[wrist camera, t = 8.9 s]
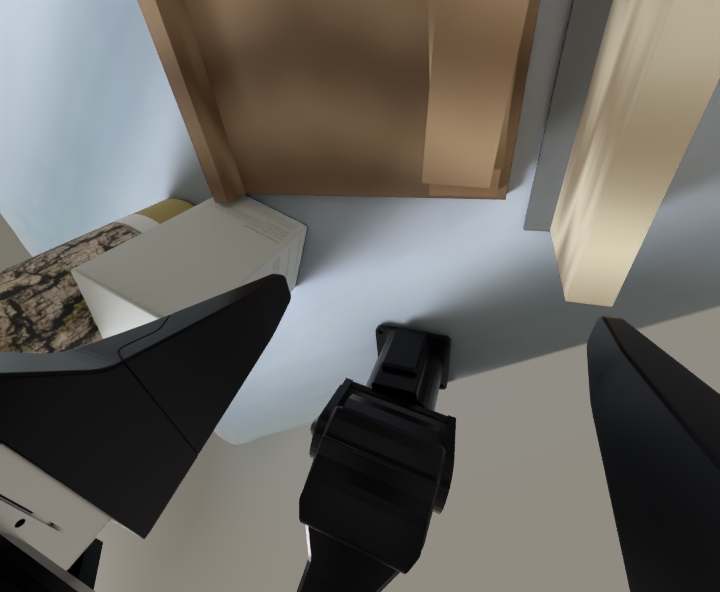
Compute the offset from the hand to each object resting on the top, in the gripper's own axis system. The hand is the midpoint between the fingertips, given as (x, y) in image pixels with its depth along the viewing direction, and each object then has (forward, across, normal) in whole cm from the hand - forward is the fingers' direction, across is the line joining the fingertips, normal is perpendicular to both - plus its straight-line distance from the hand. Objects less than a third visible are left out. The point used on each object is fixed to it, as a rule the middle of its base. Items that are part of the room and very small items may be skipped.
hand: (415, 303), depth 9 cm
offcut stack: (+12, 0, -6) cm, 13 cm away
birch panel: (+12, -6, -3) cm, 14 cm away
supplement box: (+13, +16, +6) cm, 21 cm away
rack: (+12, +7, -6) cm, 16 cm away
